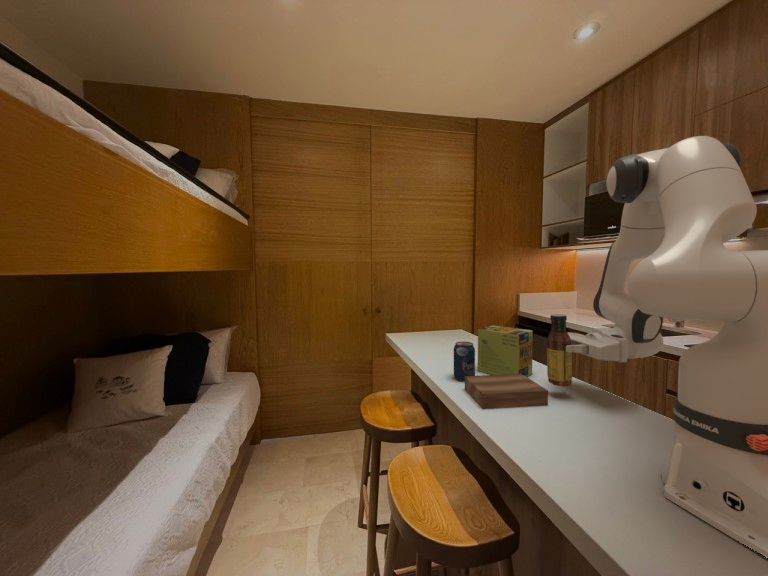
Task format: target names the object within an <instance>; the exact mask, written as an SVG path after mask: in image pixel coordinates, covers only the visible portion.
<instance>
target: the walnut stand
mask: <svg viewBox="0 0 768 576" xmlns="http://www.w3.org/2000/svg"><path fill="white" fill-rule="evenodd" d="M464 390H465V391H466V393H468V394H469V395H470V397H471V398H472V399H473V400H474V401H475V402H476V404H478V405H479V407H480V408H482V409H483V410H485V409H486V410H487V409H506V408H522V407H523V408H524V407H540V406H541V407H542V406H548V405H549V389H546V388H545V387H543V386H541V385H540V384H538V383H536V382H535V381H534V380H532V379H530V378H529V377H526V376H524V375H522V374H504V375H491V374H487V375H485V374H484V375H483V374H482V375H475V376H465V382H464Z"/></svg>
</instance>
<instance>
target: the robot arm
mask: <svg viewBox="0 0 768 576" xmlns="http://www.w3.org/2000/svg"><path fill="white" fill-rule="evenodd" d="M742 167H743V158H742V153H741V152H740V150H739V148H737V146H735V144H732V143H726V142H724V143H723V142H721V141H720V140H719V139H717V138H715V137H712V136H708V135H697V136H691V137H687V138H685V139H681V140H680V141H678V142H676V143H674V144H673V145H671V146H669V147H667V148H666V147H665V148H662V149H661V148H660V149H656V150H651V151H646V152H642V153H638V154H636V153H632V154H628V155H626V156H625V155H624V156H623V157H620V158H618V159H616V161H614V163H612V165H611V166H610V168H609V171H608V173H607V177H606V182H605V183H606V184H605V185H606V189H607V192H608V195H609V197H610V199H611V200H612V201H614V202H615V203H619V204H620V203H621V204H624V205H623V208H622V214H621V219H620V220H621V221H620V229H619V234H618V236H617V239H615V240H614V241H613V242H612V243H611V244H610V246H609V249H608V251H607V255H606V257H605V258H606V259H605V263H604V268H603V272H602V276H601V281H600V284H599V288H598V290H597V292H596V294H595V296H594V298H593V304H592V305H593V307H592V308H593V311H594V313H595V314H596V315H597V316H598V317H600V318H603V319H604V320H607V321H610V322H612V324H615V326H614V327H606V328H605V327H604V328H602V327H601V328H593V329H590V330H588V333H587V334H585V335H584V334H581V333H578V332H567V333H568V335H569V336H570V340H571V345H564V351H566V352H572V353H577V354H581V355H584V356H587V357H589V358H593V359H596V360H599V361H606V362H609V361H610V362H611V361H612V362H617V363H627V362H628V359H639V358H640V359H641V358H647V357H651V356H654V355H656V354H658V353H659V352H660V351H661V350H662V349H663V346H664V338H663V335H662V333H661V331H662V327H663V323H664V319H671V320H677V321H698V322H699V321H700V322H723V324H722V327H721V329H720V330H719V331H718V332H717V333H716V334H715V335H714V336H713V337H712V338H710V339H708V340H706V341H704V342H703V341H702V342H701V343H697V344H694V345H692V346H690V347H688V348H687V349H686V350H684V351H683V353H682V355H681V356H680V358H679V359H678V375H677V376H678V378H677V380H678V381H677V382H678V383H677V396H676V397H675V398H674V400H673V401H674V402H673V407H672V412H673V413H672V414H673V415H672V419H673V421H674V422H675V427H674V433H673V438H672V444H671V449H670V452H669V456H668V459H667V462H666V464H665V466H664V467H663V470H662V472H661V478H662V482H663V483H664V487H663V491H662V494H663V496H664V497H665V498H666V499H667V500H669V501H670V502H672V503H674V504H676V505H678V506H679V507H681V508H682V509H684V510H685V511H687V512H689V513H690V514H692V515H694V516H696V517H697V518H698V519H701V520H702V521H704V522H705V523H707V524H708V525H710V526H712V527H713V528H715V529H717V530H719V531H720V532H721V533H724V534H725V535H727V536H729V537H730V538H732V539H734V540H736V542H738V541H739V542H738V543H740V544H742V545H743V544H744V545H743V546H745V545H746V547H747V546H748V547H749V549H750V548H751V549H750V550H752V549H753V550H755V551H757V552H759V553H762V554H764V555H766V556H767V557H768V250H767V249H765V250H763V249H762V250H761V249H760V250H759V249H757V250H731V249H728V248H727V247H726V246H725V244H724V243H727V242H729V241H731V240H733V239H734V238H736V237H738V236H740V235H741V234H743V233H744V232H746V231H747V230H748V229H750V227H751V226H752V224H754V221H755V219H756V216H757V212H758V208H757V205H756V204H757V203H756V202H755V200H754V198H753V194H752V193H751V191H750V188H749V186H748V184H747V181H746V179H745V177H744V174H743V172H742ZM641 259H642V260H641ZM635 260H640V261H639V262H638V263H637V264H636V265H635V266H634V268H632V271H631V273H630V275H629V276H628V274H629V270H630V266H631V265H632V263H633V261H635ZM627 277H628V280H627ZM626 281H627V289H626V287H625V285H626ZM748 547H747V548H748ZM753 550H752V551H753ZM755 551H754V552H755ZM757 552H756V553H757Z"/></svg>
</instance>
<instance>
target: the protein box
mask: <svg viewBox="0 0 768 576" xmlns="http://www.w3.org/2000/svg"><path fill="white" fill-rule="evenodd" d="M533 332H534V331H533V330H531V329H523V328H516V327H507V326H502V325H490V326H485V327H480V328H477V372H481V373H484V374H487V375H504V374H522V375H524V376H526V377H527V378H529V377H530V376H532V375H533Z"/></svg>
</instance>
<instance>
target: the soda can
mask: <svg viewBox="0 0 768 576" xmlns="http://www.w3.org/2000/svg"><path fill="white" fill-rule="evenodd" d="M465 376H476V348H475V347H474V343H473V342H470V341H456V342H455V345H454V347H453V377H454V379H456V381H458V380H459V382H463V381H464V383H465Z"/></svg>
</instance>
